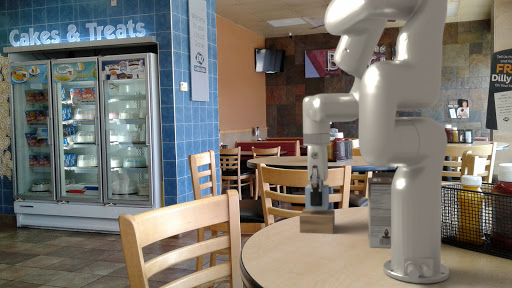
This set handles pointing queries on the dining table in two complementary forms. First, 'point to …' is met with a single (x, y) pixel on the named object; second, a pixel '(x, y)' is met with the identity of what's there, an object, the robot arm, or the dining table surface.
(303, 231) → the walnut block
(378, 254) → the dining table surface
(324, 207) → the slate cube
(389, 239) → the coffee box
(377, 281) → the dining table surface
